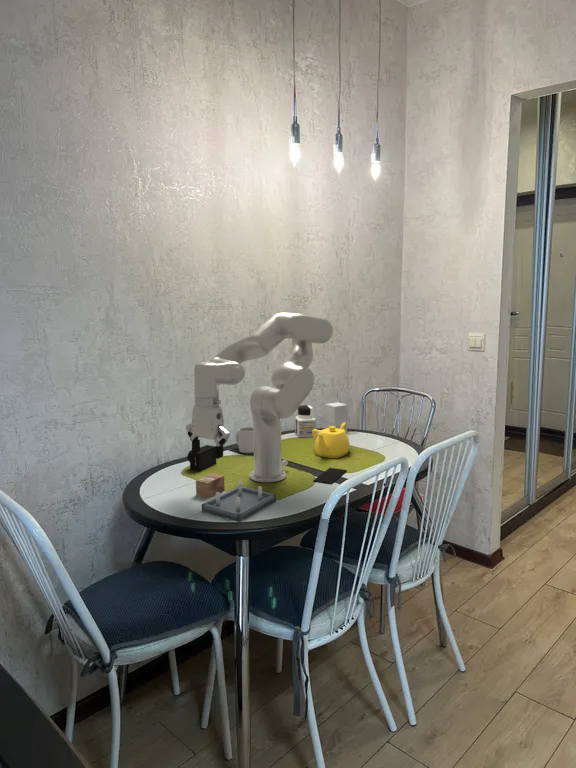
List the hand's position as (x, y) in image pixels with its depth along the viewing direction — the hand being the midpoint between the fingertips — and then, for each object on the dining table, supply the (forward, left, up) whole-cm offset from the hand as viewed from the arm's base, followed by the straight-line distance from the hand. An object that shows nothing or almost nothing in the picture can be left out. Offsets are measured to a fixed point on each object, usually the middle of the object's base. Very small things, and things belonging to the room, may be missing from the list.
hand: (207, 455), depth 177 cm
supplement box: (-89, -2, -13) cm, 90 cm away
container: (-77, -11, -13) cm, 78 cm away
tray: (+3, +15, -13) cm, 20 cm away
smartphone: (-35, +25, -13) cm, 45 cm away
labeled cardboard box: (-1, 0, -13) cm, 13 cm away
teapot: (-59, +11, -13) cm, 61 cm away
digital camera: (-19, -20, -13) cm, 30 cm away
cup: (-44, -19, -13) cm, 49 cm away
